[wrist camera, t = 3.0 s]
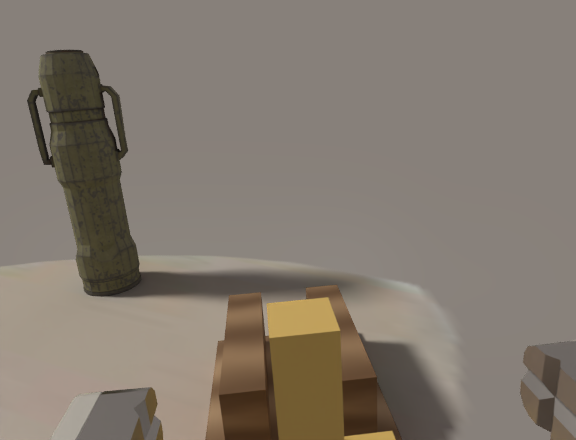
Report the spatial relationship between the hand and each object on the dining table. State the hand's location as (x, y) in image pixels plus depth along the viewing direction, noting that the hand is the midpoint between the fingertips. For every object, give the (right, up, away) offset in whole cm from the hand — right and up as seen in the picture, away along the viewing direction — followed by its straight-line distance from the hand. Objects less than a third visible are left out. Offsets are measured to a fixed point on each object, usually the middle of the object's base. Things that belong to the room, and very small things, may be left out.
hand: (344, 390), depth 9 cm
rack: (-1, -13, +33) cm, 35 cm away
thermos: (-29, -7, +60) cm, 67 cm away
